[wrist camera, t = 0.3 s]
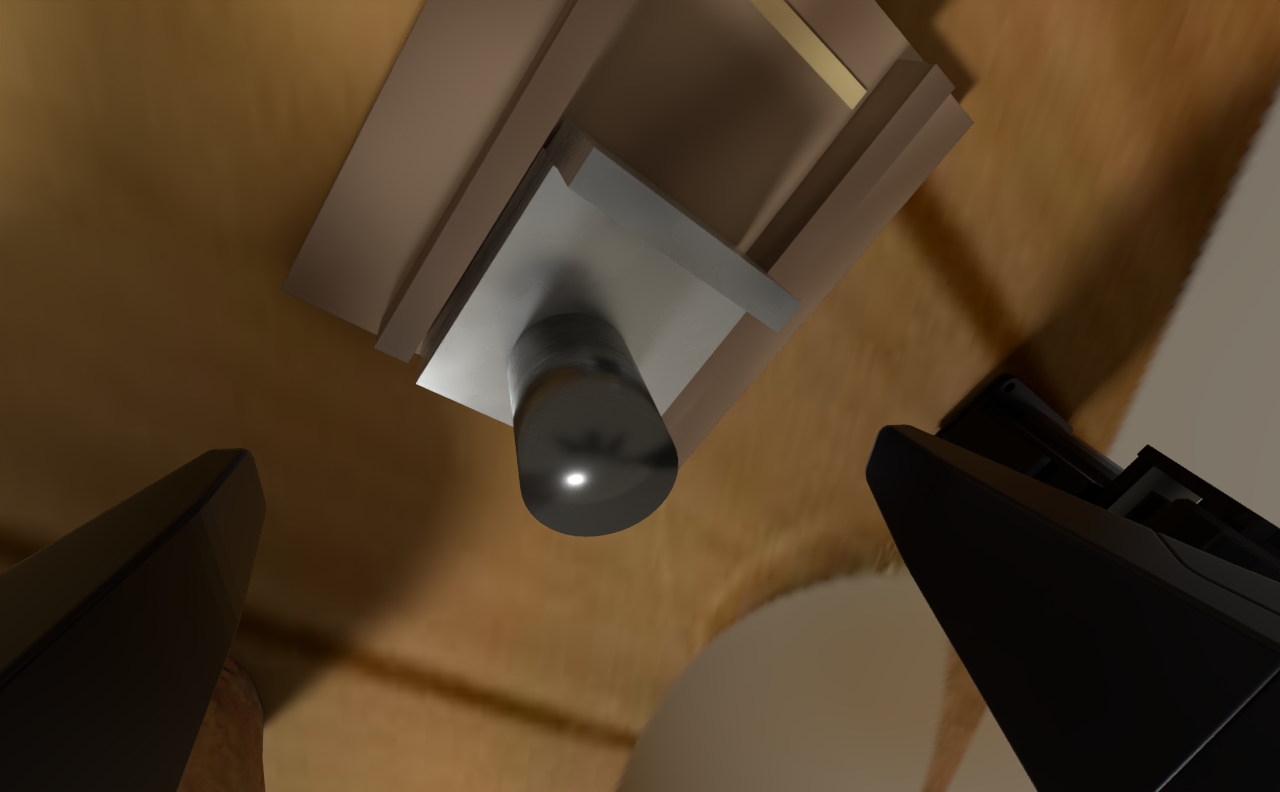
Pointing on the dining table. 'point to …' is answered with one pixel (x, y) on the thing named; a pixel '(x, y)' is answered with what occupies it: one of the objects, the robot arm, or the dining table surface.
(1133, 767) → the robot arm
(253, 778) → the potted plant
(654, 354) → the metal press slider
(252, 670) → the dining table surface
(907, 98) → the press bed
